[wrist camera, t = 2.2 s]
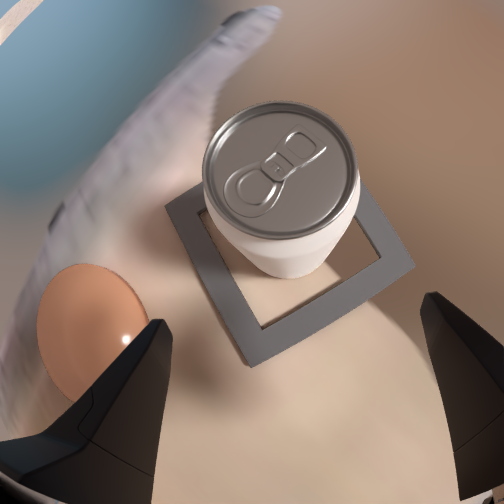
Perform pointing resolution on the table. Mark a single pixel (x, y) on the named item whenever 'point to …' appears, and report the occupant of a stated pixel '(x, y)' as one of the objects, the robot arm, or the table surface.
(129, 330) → the plate
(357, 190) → the can
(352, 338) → the table surface
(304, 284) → the table surface
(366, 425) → the table surface
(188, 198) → the gray square frame
